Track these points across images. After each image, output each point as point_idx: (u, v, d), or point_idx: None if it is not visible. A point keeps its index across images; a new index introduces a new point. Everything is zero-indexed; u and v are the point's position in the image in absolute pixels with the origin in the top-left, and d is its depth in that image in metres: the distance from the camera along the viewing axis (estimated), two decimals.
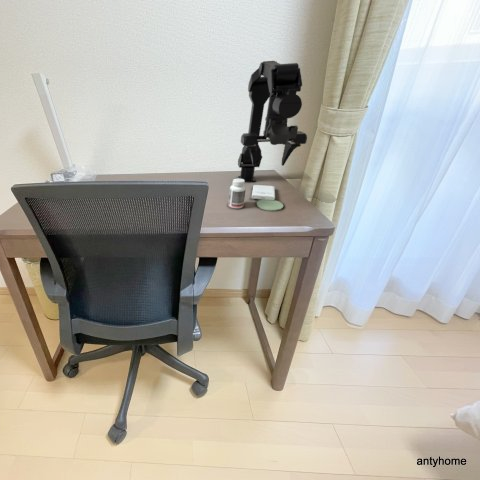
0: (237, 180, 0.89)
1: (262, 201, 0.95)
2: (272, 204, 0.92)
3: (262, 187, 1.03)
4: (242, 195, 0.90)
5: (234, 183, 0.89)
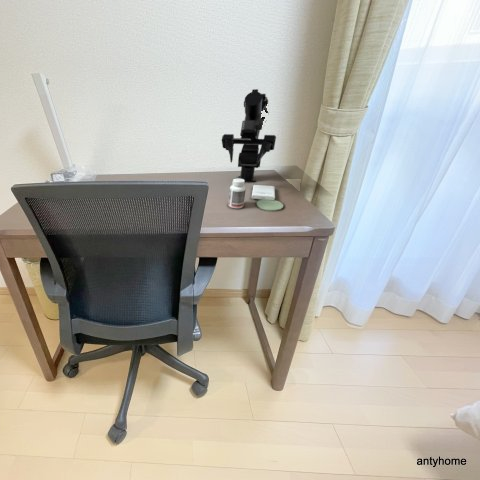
0: (237, 180, 0.89)
1: (262, 201, 0.95)
2: (272, 204, 0.92)
3: (262, 187, 1.03)
4: (242, 195, 0.90)
5: (234, 183, 0.89)
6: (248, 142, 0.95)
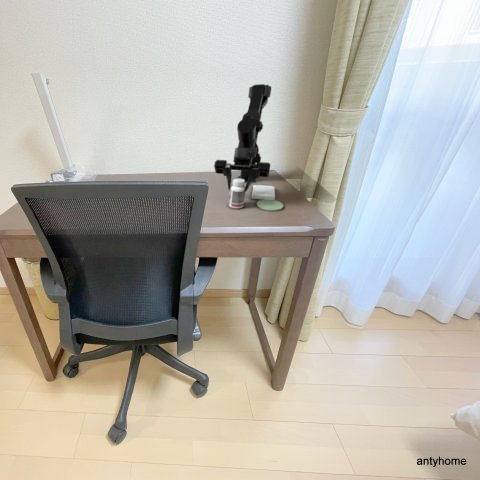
0: (237, 180, 0.89)
1: (262, 201, 0.95)
2: (272, 204, 0.92)
3: (262, 187, 1.03)
4: (242, 195, 0.90)
5: (234, 183, 0.89)
6: (237, 168, 0.91)
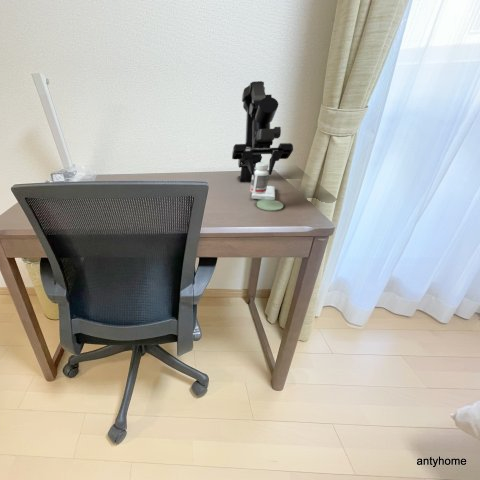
0: (261, 164, 0.85)
1: (262, 201, 0.95)
2: (272, 204, 0.92)
3: None
4: (267, 179, 0.86)
5: (259, 167, 0.84)
6: (256, 152, 0.87)
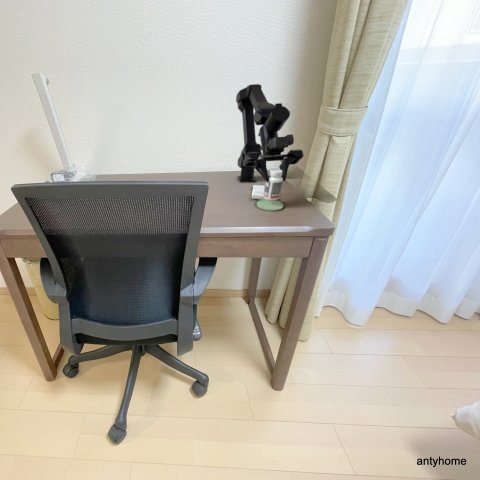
0: (275, 171, 0.86)
1: (262, 201, 0.95)
2: (272, 204, 0.92)
3: (262, 187, 1.03)
4: (281, 185, 0.88)
5: (274, 174, 0.85)
6: (268, 159, 0.88)
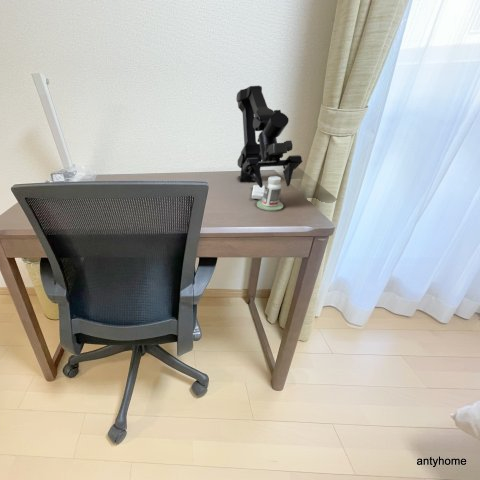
0: (274, 178, 0.87)
1: None
2: None
3: (262, 187, 1.03)
4: None
5: (272, 181, 0.87)
6: (272, 164, 0.89)
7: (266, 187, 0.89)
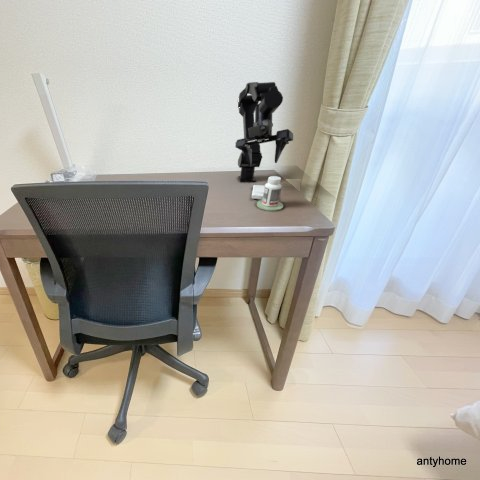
0: (274, 178, 0.87)
1: None
2: None
3: (262, 187, 1.03)
4: None
5: (272, 181, 0.87)
6: (263, 141, 0.92)
7: (266, 187, 0.89)
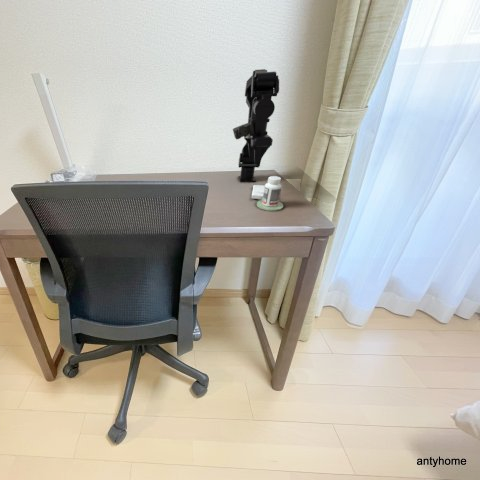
0: (274, 178, 0.87)
1: None
2: None
3: (262, 187, 1.03)
4: None
5: (272, 181, 0.87)
6: None
7: (266, 187, 0.89)
